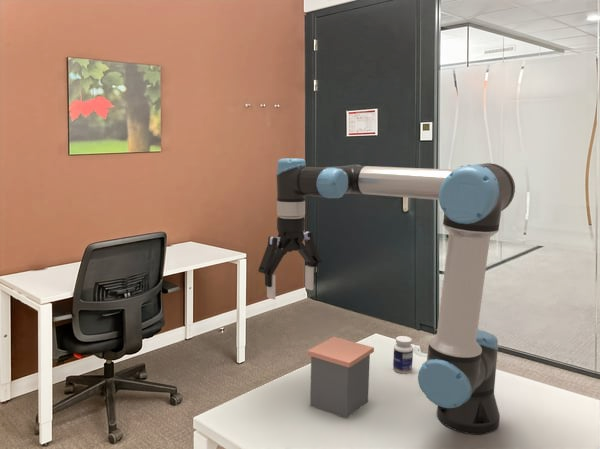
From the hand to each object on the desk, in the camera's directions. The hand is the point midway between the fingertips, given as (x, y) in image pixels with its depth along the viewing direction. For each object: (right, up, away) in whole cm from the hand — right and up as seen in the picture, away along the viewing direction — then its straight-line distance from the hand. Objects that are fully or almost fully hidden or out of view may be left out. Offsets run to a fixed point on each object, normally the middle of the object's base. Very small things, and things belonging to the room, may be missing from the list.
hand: (290, 293), depth 154 cm
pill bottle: (+34, -25, +17) cm, 46 cm away
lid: (+13, -15, -7) cm, 21 cm away
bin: (+13, -29, -5) cm, 32 cm away
